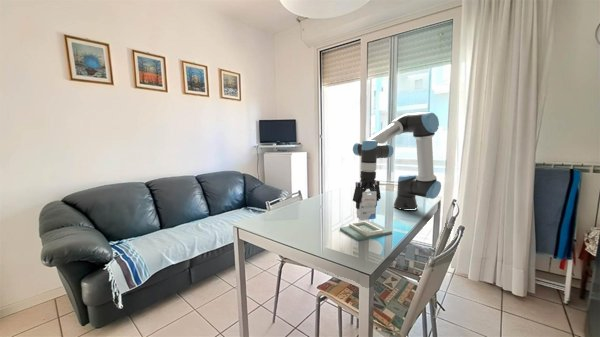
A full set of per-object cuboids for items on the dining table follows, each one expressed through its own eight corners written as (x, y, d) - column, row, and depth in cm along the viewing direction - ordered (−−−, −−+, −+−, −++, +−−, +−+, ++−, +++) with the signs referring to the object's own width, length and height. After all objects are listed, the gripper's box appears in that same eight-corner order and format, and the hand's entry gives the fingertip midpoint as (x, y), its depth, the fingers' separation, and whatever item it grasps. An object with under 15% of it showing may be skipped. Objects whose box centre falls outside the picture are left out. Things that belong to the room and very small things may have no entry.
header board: (372, 223, 141) (372, 219, 140) (391, 233, 127) (392, 228, 127) (339, 229, 132) (340, 224, 131) (357, 240, 118) (357, 235, 118)
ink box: (370, 215, 132) (372, 189, 130) (375, 218, 127) (377, 191, 125) (356, 217, 130) (357, 189, 128) (361, 220, 125) (362, 192, 123)
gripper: (379, 168, 133) (377, 209, 136) (346, 170, 124) (344, 214, 127) (389, 170, 126) (387, 213, 129) (355, 173, 117) (353, 218, 120)
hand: (366, 213), depth 128 cm, fingers closed on ink box, 9 cm apart
